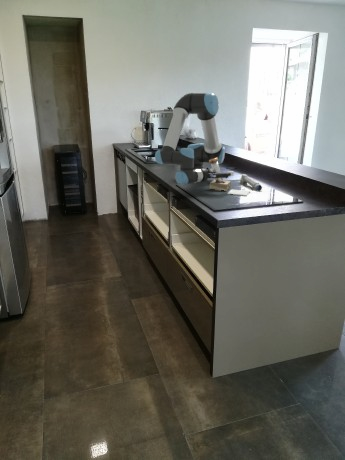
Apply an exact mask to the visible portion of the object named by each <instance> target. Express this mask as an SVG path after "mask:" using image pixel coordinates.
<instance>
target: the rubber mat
mask: <svg viewBox="0 0 345 460" xmlns="http://www.w3.org/2000/svg"><path fill="white" fill-rule="evenodd" d="M250 192H251V191H250V190H240V189H233V188H232V189H231V188H230V189H229V191H228V192H227V195H230V194H233V196H240V195H243V197H247V196H249V194H250Z"/></svg>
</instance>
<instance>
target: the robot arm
mask: <svg viewBox="0 0 345 460" xmlns="http://www.w3.org/2000/svg"><path fill="white" fill-rule="evenodd" d="M219 108H220V107H219V99H218V96H217V95H216V94H215V93H210V92H206V93H205V92H200V93H199V92H195V93H194V92H189V93H186V94H184V95H183V96H181V97H180V98H179V99H178V101H177V102H176V103H175V105H174V107H173V109H172V118H171V120H170V124H169V127H168V130H167V132H166V135H165V139H164V142H163V145H162V148H161V149H157V151H156V152H155V154H154V160H155V162H156V163H157V164H161V165H172V166H173V165H174V166H179V171H177V172H176V173H175V175H174V177H175V181H176V183H177V184H178V185H189V184H193V183H194V184H197V183H201V182H205V181H207V180H208V179H215V178H222V179H228V178H229V177H234V172H235V171H226V172H221V173H217V172H213V170H212V168H209V167H206V168H204V164H210V163H209V160H211V159H214V158H218V160H217V161H218V164H219V165H220V164H222V163H224V159H225V157H226V156H225V154H226V147H225V146H222V143H221V142H220V141H219V136H218V131H217V124H216V118H215V117H216V116H217V114H218V113H219ZM191 114H192V115H196V116H197V119H199V121H200V123H201V127H202V131H203V132H202V133H203V136H204V142H205V143H204V142H202V143H191V144H188V145H187V147H183V148H180V151H179V150H177V151H176V148H177V146H178V143H179V139H180V136H181V133H182V131H183V128H184V124H185V122H186V119H188V118H189V115H191ZM213 173H214V174H213Z"/></svg>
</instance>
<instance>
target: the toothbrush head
mask: <svg viewBox="0 0 345 460" xmlns="http://www.w3.org/2000/svg"><path fill="white" fill-rule="evenodd" d="M239 184H241V185H247V184H248V185H249V186H250V187H252V189H253V190H254V191H262V188H263V186H262V185H261V184H260V182H257V181H255V180H253V179H252V178H250V177H249V176H248V174H245V173H242V174H241V177H240V178H239Z"/></svg>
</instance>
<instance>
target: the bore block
mask: <svg viewBox="0 0 345 460" xmlns="http://www.w3.org/2000/svg"><path fill="white" fill-rule="evenodd" d="M223 182H224V183H216V181H215V179H212V181H210V182H209V190H210V189H215V190H214V191H221V190H224V191H225V192H227V191H228V190H230V189H231V183H232V182H231V181H230V180H223ZM224 191H223V192H224Z"/></svg>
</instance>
